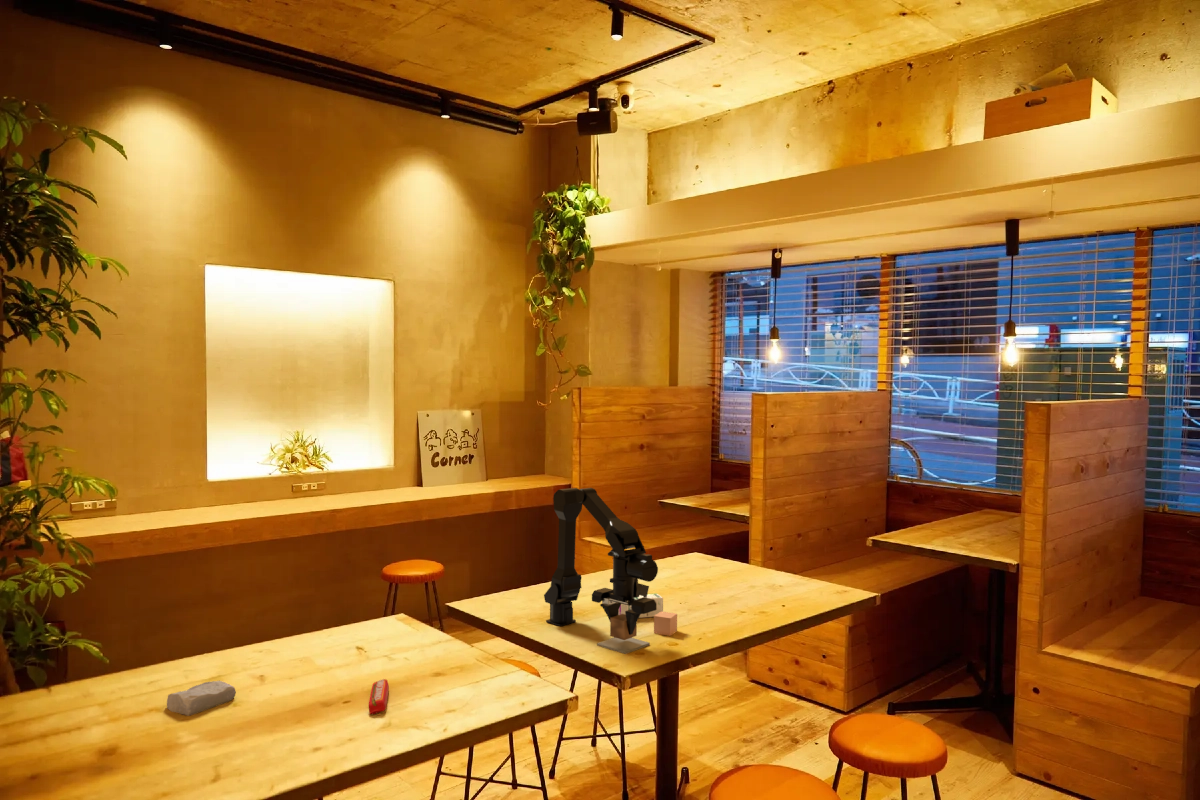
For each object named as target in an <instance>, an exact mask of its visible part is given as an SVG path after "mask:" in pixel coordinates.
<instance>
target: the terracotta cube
mask: <svg viewBox="0 0 1200 800" xmlns="http://www.w3.org/2000/svg"><path fill="white" fill-rule="evenodd" d="M676 632H678V613H677V612H675V613H674V612H667V611H663V612H662V611H661V612H659V613H658V614H656V615H654V617H653V634H657V635H663V636H664V635H665V636H672V635H673V634H675V633H676Z"/></svg>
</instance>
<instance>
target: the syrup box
mask: <svg viewBox="0 0 1200 800" xmlns="http://www.w3.org/2000/svg"><path fill="white" fill-rule="evenodd" d="M643 597H644V596H641V595H639V597H637V598H636V597H635V598H634V599H636V600H637V599H640V598H643ZM647 598H650V599H654V600H655V601H656V610H655V611H652V612H649V613H645V614H641V615H640V616H639V618H640V619H641V618H654V615H656V614H658V613H659V612H661V611H662V612H664V597H662V596H661V595H660V594H658V593H657V592H655V593H648V594H647ZM630 607H631V606H629V605H625V604H621V605H620V607H619V615H620V614H625V611H627V610H630ZM639 618H638V619H639Z"/></svg>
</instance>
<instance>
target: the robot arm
mask: <svg viewBox="0 0 1200 800" xmlns="http://www.w3.org/2000/svg"><path fill="white" fill-rule="evenodd" d="M552 499H553V500H552V501H553V510H554V512H555V514H556V516H557V517H558V542H557V568H556V569H555V571H554V573H553V574H552V577H551V582H550V587H549V588H548V589H547V590H546V591H545V592H544V594H543V598H544V602H545V603H547V604H549V618H548V619H546V620H545V622H546V623H547V624H552V625H556V626H559V627H564V626H566V625H570V624H574V623H576V622H577V620H576V619H574V608H573V602H575V601H578V598H579V594H580V591H581V589H582V575H581V574H579V573H578V572H577V570H576V568H575V566H576V565H575V564H576V539H577V538H576V535H577V533H576V531H577V519H578V517H579V515H580V513H581V512H582V508H583V506H584V508H585V509H586V510H587V511H588V513H589V514H590V515H591V516H592V517H593V519H595V521H596V522H597V523H598V524H599V526H600V527H601V528H602V529H603V530H604V534H605V539H606V541H607V542H608V544H609V546H610V547H611V550H610V551H608V552H607V556H609V557H612V577H610V578H609V583H611V584H612V588H607V587H602V588H599V589H596V590H593V592H592V594H591V602H593V603H597V604H598V603H599V605H600V607H601V608H602V609H603V610H604V613H605V614H606V617H608V620H609V621H610V618H611V617H614V616H617V615H619V607H620V605H621V604H625V605H629V606H631V607H630V610H627V611H625V614H626V620H627V627H628V632H629V635H631V634H633V631H634V629H635V626H636V623H638V620H639V616H640V615H641V614H645V613H649V612H652V611H655V610H656V601H655V600H654V599H650V598H647V594H649V590H650V589H649V588H650V585H646V584H642V583H640V582H639V580H641V581H643V582H650V583H651V582H652V581H654V580H655V579H656V578H657V575H658V573H659V567H658V564H657V562H656V560H654V559H653V555H652V554H648V553H647V551H646V549H645V546H644V544H643V542H642V540H641V538H640V536H639V533H638V531H637V529H636V528H635V527H633V526H632V524H630V523H629V522H627V521H624V520H622V519H620V518H618V517H617V515H616V514H615V513H614V511H612V510H611V508H610V507H609V506H608V505H607V504H606V502H605V501H603V499H602V498H601V496H599V494H598V493H597V490H596V489H595V488H594V487H586V488H585V487H583V488H580V489H579V488H577V487H570V488H562V489H561V488H560V489H557V490H556V492H554V494H553V498H552ZM646 553H647V554H646ZM639 595H641V596H644V597H643V598H640V599H637V600H636V599H634V598H635V597H636V598H637V597H639Z"/></svg>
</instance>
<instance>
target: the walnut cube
mask: <svg viewBox="0 0 1200 800" xmlns="http://www.w3.org/2000/svg"><path fill="white" fill-rule="evenodd" d="M609 622H610V625H609V626H610V631H609V633H610V636H609V637H612V638H614V637H615V638H619V639H622V640H626V639H629V638H635V637H637V631H638V630H637V628H638V627H637V625H638V624H637V623H638V622H637V623H636V626H635V629H634V631H633V634H631V635H629V632H628V627H627V620H626V614H620V615H617V616H614V617H611V618H610V620H609Z"/></svg>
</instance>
